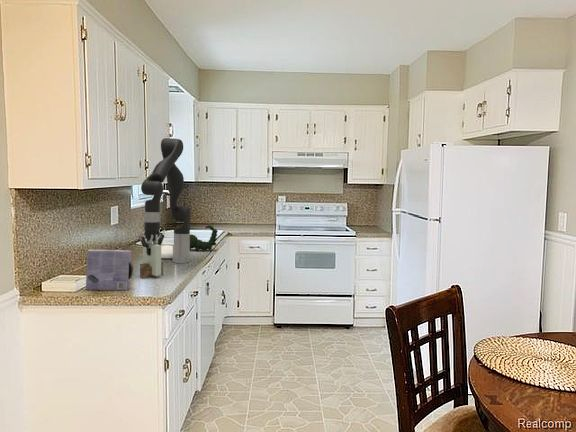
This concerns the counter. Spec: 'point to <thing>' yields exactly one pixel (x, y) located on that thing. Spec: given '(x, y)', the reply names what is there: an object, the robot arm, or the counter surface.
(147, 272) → the walnut u-shaped block
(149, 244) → the robot arm
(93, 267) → the cake pan box
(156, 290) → the counter surface
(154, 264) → the pale green plank
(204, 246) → the toy figurine
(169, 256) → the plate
